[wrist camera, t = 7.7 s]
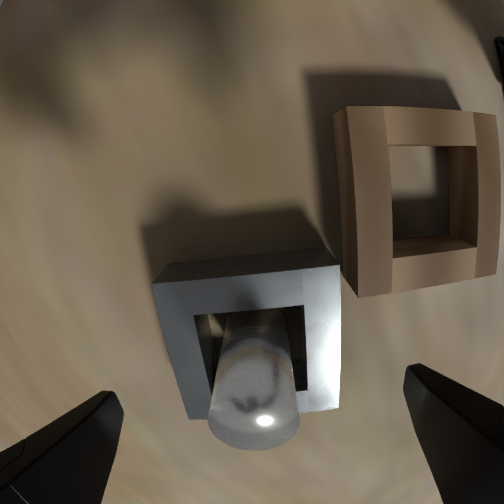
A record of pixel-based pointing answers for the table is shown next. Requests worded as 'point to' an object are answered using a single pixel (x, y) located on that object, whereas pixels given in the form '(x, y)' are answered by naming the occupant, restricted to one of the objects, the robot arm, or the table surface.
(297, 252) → the block
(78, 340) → the table surface
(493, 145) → the socket block
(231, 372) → the metal cylinder peg
